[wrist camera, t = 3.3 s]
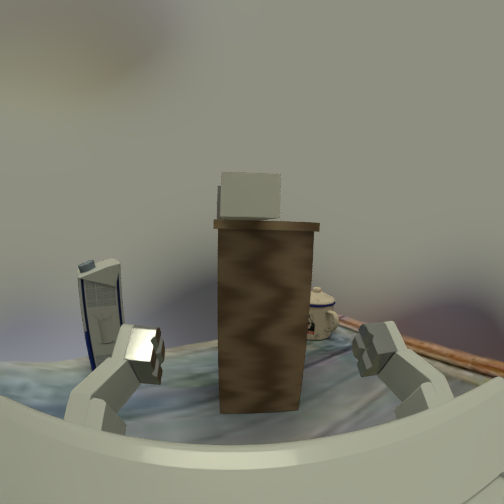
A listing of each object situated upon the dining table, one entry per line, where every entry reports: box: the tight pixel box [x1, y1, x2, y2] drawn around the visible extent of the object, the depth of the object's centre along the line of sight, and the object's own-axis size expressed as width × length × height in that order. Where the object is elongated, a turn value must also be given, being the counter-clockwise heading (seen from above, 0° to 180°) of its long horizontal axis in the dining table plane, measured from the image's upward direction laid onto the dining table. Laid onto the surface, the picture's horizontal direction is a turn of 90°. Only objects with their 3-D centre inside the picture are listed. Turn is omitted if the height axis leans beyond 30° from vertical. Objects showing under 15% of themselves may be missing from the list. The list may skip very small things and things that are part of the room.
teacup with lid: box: [307, 287, 339, 340], centre depth 62 cm, size 12×9×12 cm
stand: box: [214, 220, 320, 413], centre depth 39 cm, size 12×15×26 cm
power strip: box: [217, 172, 281, 221], centre depth 31 cm, size 6×26×5 cm, turn 5°
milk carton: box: [77, 258, 125, 372], centre depth 39 cm, size 7×7×20 cm
